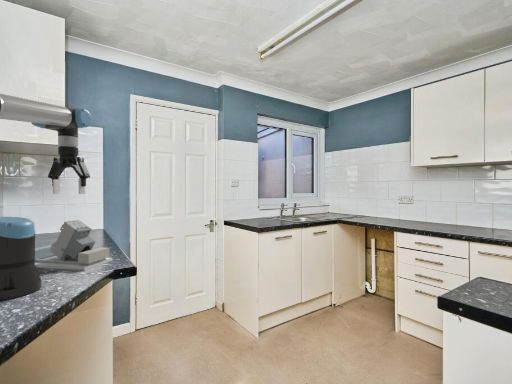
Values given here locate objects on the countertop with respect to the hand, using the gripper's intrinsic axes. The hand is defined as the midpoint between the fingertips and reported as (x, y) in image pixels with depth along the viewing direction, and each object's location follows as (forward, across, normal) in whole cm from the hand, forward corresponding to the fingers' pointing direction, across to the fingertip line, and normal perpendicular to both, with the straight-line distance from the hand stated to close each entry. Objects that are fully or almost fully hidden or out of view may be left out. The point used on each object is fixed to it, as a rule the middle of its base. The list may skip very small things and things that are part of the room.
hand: (69, 193), depth 125 cm
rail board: (+31, -2, +3) cm, 31 cm away
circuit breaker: (+28, -2, +3) cm, 29 cm away
